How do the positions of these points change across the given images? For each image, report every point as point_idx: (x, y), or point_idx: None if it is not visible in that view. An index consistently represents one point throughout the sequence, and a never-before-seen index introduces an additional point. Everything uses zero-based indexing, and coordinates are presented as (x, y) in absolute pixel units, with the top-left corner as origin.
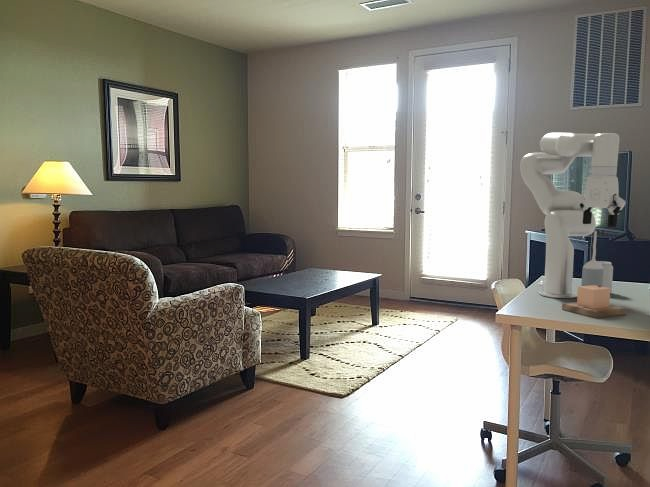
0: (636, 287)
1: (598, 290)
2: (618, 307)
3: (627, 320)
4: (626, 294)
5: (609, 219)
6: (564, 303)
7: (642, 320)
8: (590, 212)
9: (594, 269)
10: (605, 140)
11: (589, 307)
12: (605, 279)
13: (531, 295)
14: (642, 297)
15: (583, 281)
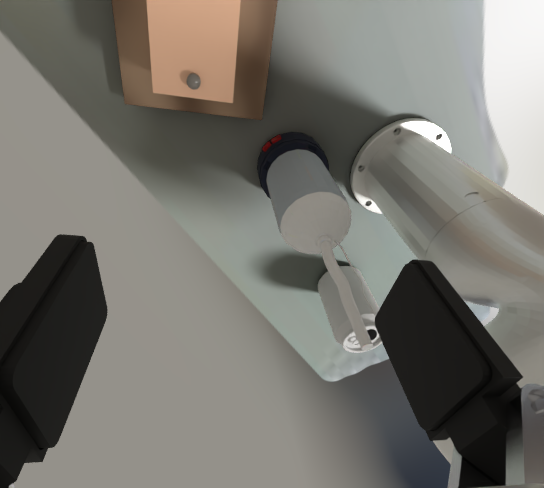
0: (319, 358)
1: (147, 4)
2: (142, 94)
3: (44, 6)
4: (295, 305)
5: (6, 304)
6: None
7: (37, 63)
8: (435, 422)
9: (294, 200)
10: None
11: None
12: (333, 297)
13: (457, 95)
14: (260, 306)
15: (320, 168)
